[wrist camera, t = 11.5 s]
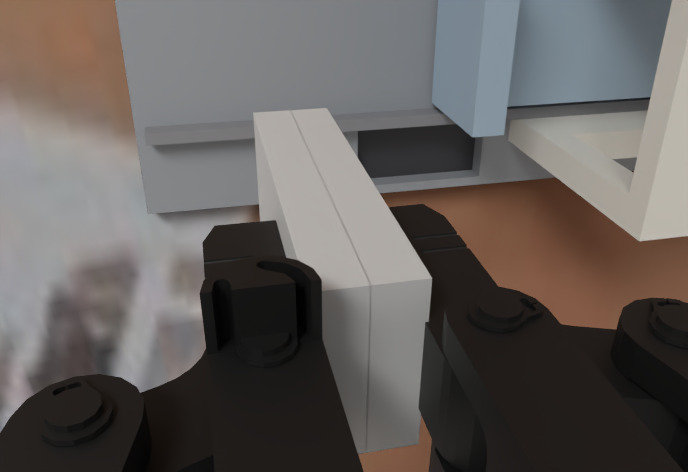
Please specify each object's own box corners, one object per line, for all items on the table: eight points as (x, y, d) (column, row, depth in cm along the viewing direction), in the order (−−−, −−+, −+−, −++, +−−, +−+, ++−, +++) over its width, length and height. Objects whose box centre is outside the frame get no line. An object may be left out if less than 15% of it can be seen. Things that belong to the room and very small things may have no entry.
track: (148, 204, 35) (132, 359, 23) (86, -204, 26) (14, -276, 15) (831, 145, 43) (1067, 238, 31) (950, -182, 34) (1331, -217, 23)
